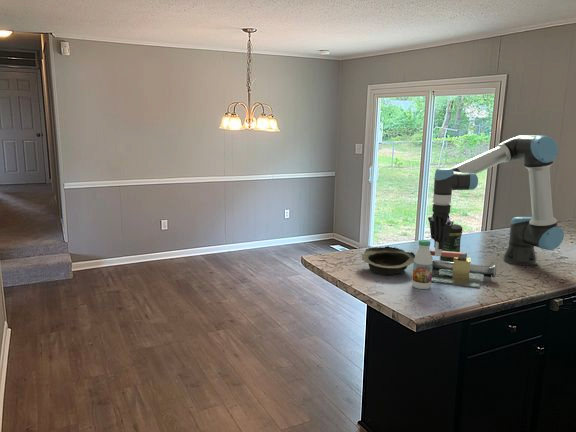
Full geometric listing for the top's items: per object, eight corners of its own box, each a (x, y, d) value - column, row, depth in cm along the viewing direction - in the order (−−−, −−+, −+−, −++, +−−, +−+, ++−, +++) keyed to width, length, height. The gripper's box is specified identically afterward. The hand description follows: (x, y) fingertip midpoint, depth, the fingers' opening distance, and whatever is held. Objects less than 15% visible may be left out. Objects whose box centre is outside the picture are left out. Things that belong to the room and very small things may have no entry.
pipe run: (493, 275, 214) (495, 257, 213) (495, 290, 194) (497, 270, 193) (421, 266, 226) (423, 249, 224) (416, 280, 206) (417, 261, 204)
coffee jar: (450, 263, 232) (453, 227, 229) (437, 259, 239) (440, 224, 235) (462, 260, 237) (465, 225, 234) (449, 257, 244) (452, 222, 240)
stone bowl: (399, 261, 233) (401, 244, 231) (423, 281, 210) (426, 262, 207) (352, 263, 228) (354, 245, 226) (372, 283, 204) (374, 263, 202)
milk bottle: (409, 283, 201) (412, 238, 197) (426, 283, 202) (430, 238, 198) (415, 289, 193) (419, 243, 190) (433, 289, 194) (437, 243, 190)
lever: (466, 257, 211) (466, 252, 210) (466, 259, 207) (467, 254, 207) (429, 254, 215) (430, 249, 214) (429, 256, 211) (430, 251, 211)
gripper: (459, 205, 201) (455, 258, 206) (436, 201, 212) (433, 251, 217) (447, 206, 198) (442, 260, 202) (424, 202, 209) (421, 253, 213)
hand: (437, 255), depth 209 cm, fingers closed
